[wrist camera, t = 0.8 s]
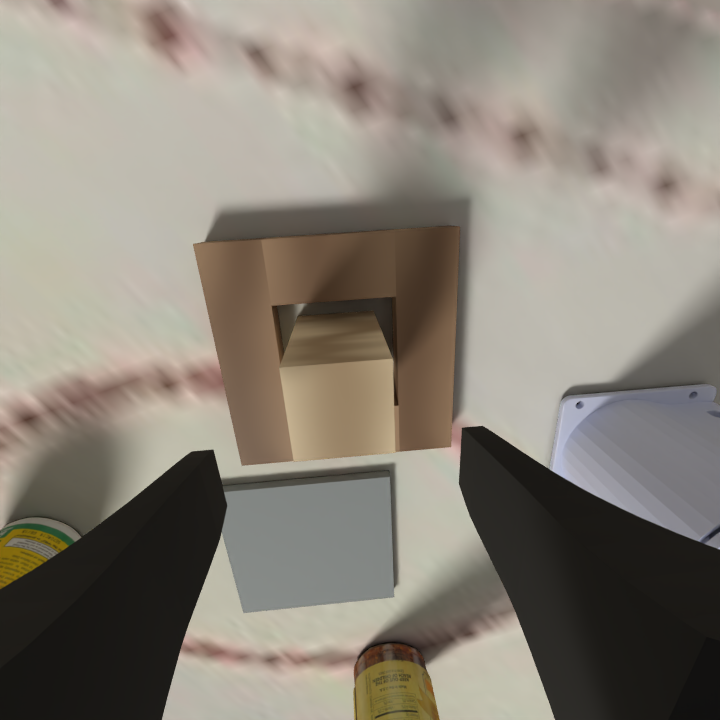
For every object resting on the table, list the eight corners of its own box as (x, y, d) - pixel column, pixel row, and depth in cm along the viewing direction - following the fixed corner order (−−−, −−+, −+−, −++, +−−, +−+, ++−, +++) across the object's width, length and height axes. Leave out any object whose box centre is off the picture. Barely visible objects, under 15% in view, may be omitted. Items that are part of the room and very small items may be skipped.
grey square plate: (388, 470, 23) (389, 476, 23) (392, 589, 27) (394, 597, 27) (214, 486, 23) (211, 493, 22) (245, 604, 27) (243, 612, 26)
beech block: (373, 310, 19) (392, 358, 13) (376, 378, 21) (395, 452, 14) (298, 316, 19) (279, 367, 13) (306, 384, 21) (293, 461, 14)
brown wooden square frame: (450, 225, 18) (460, 226, 17) (443, 432, 22) (450, 446, 21) (204, 241, 18) (192, 244, 16) (247, 449, 22) (241, 465, 21)
